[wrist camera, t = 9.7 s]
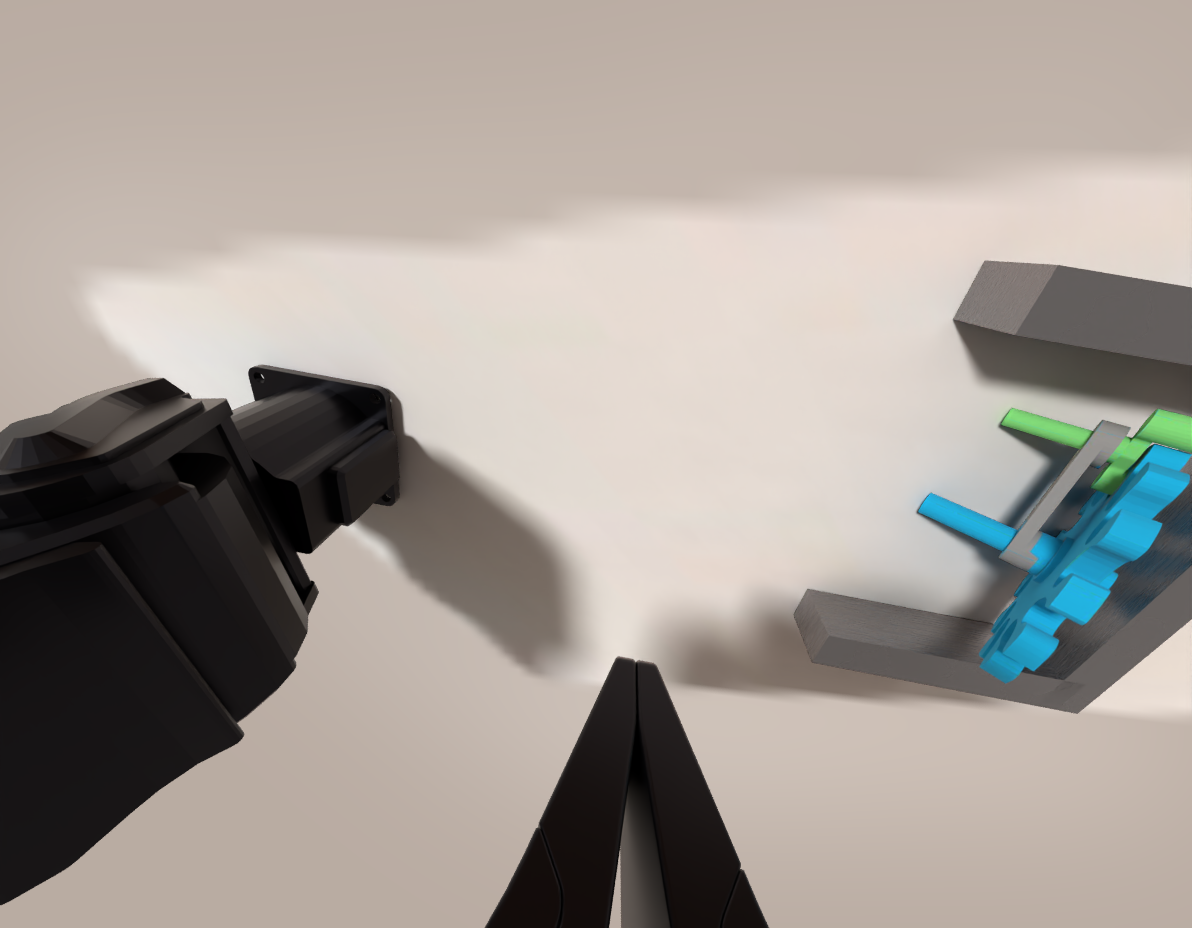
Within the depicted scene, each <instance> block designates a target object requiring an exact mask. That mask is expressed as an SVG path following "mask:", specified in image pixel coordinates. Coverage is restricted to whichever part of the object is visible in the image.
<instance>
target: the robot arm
mask: <svg viewBox="0 0 1192 928" xmlns="http://www.w3.org/2000/svg"><path fill="white" fill-rule="evenodd" d="M248 374H249V379H250V383H251V387H252V391H253V395H254V399H255V401H254V402H252V403H249V404H247V405H244V406H242V407H239V408H237V409H234V410H231V408H230V406H229V403H228V401H227V399H224V398H221V399H192V398H191V396H190V394H189V393H185V392H183V391H182V390H180V389H179V388H177V387H176V386H175V385H173V384H172V383H170V382H169V381H167V380H166V379H164V378H147V379H143V380H139V381H136V382H132V383H129V384H125V385H121V386H118V387H114V388H111V389H107V390H104V391H100V392H97V393H94V394H91V395H88V396H86V397H83V398H80V399H78V400H76V401H74V402H72V403H70V404H66V405H63V406H61V407H59V408H58V409H57V410H55V411H53V412H52V413H50V414H45V415H41V416H36V417H32V418H28V419H24V420H21V421H17V422H15V423H12V424H10V425H9V426H8V427H7V428H5V429H4V430H3V431H2V432H0V905H3V904H5V903H7V902H9V901H11V900H13V899H14V898H16V897H18V896H20V895H21V894H23V893H25V892H27V891H28V890H30V889H32V888H34V887H35V886H37V885H39V884H41V883H42V882H44V881H46V880H48V879H50V878H51V877H53V876H55V875H56V874H58V873H60V872H62V871H63V870H65V869H66V868H68V867H69V866H71V865H72V864H73V863H74V862H76V861H77V860H78V859H79V858H80V857H81V856H82V855H84V854H85V853H86V852H87V851H88V850H89V849H90V848H91V847H93V846H94V845H95V844H96V843H97V842H98V841H99V840H101V839H102V838H103V837H104V836H105V835H106V834H108V833H109V832H110V831H111V830H112V829H113V828H114V827H116V826H117V825H118V824H119V823H120V822H121V821H122V820H124V819H125V818H126V817H127V816H128V815H129V814H130V813H132V812H133V811H134V810H135V809H136V808H138V807H139V806H140V805H141V804H143V803H144V802H145V801H146V800H148V799H149V798H150V797H151V796H152V795H154V794H155V793H156V792H157V791H159V790H160V789H161V788H163V787H164V786H166V785H167V784H169V783H170V782H171V781H173V780H174V779H176V778H178V777H179V776H181V775H182V774H184V773H185V772H186V771H188V770H189V769H191V768H192V767H194V766H195V765H197V764H198V763H200V762H202V761H204V760H206V759H208V758H210V757H212V756H214V755H216V754H218V753H219V752H222V751H224V750H226V749H228V748H229V747H232V746H233V745H235V744H237V743H238V742H239V741H240V740H241V739H242V738H243V736H244V732H243V731H242V729H241V728H240V727H239V725H238V724H237V723H238V722H239V721H241V720H242V719H244V718H245V717H247V716H248V715H249V714H250V713H251V712H252V711H254V710H255V709H256V708H257V707H258V706H259V705H260V704H262V702H264V701H265V700H266V699H267V698H269V696H271V695H272V694H273V693H274V692H275V691H276V690H277V689H278V688H279V687H280V686H281V685H282V684H283V682H284V681H285V680H286V679H287V678H288V677H289V675H290V674H291V673H292V672H293V671H294V669H295V668H296V661H295V660H294V658H295V657H296V655H297V653H298V651H299V649H300V647H301V644H302V643H303V641H304V639H305V636H306V634H307V630H308V615H309V613H310V610H311V608H312V606H313V604H314V602H315V600H316V598H317V595H318V593H319V591H318V589H317V587H316V585H315V583H314V581H310V579H309V577H308V575H307V573H306V571H305V569H304V567H303V564H302V562H301V560H300V558H299V556H298V554H297V552H300V553H305V554H310V553H312V552H313V551H314V550H315V549H316V548H317V547H318V546H319V545H320V544H322V543H323V542H324V541H325V540H326V539H327V538H328V537H329V536H330V535H331V534H332V533H333V532H334V531H335V530H337V529H338V528H339V527H340V526H341V525H344V526H349V525H351V524H352V523H353V522H355V521H356V520H357V519H358V518H359V517H360V516H361V515H362V514H363V513H364V512H365V511H366V510H367V509H368V508H369V507H370V506H371V505H372V504H373V503H374V504H380V505H385V506H391V505H393V504H394V503H395V502H396V501H397V500H398V499H399V487H398V479H399V478H400V474H399V463H398V452H397V441H396V435H395V433H394V432H393V423H392V412H391V402H390V396H389V393H388V392H387V390H386V389H384V388H383V387H381V386H377V385H372V384H366V383H361V382H355V381H350V380H344V379H339V378H333V377H328V376H322V375H317V374H311V373H306V372H300V371H295V370H289V369H284V368H278V367H273V366H267V365H258V366H255V367H252V368H250V369H249V372H248ZM261 374H262V375H263V377H264V378H262V376H261ZM374 394H377V395H378V396H379V397H380V401H379V400H377V399H376V398H375V395H374ZM386 494H387V495H389V496H390V498H389V497H388V496H387V495H386ZM620 848H621V849H620ZM619 851H620V852H621V853H620V854H621V928H769V927H768V925H767V922H766V921H765V918H764V916H763V914H762V911H761V909H760V907H759V905H758V902H757V900H756V898H755V895H754V893H753V891H752V888H751V886H750V884H749V881H748V879H747V877H746V874H745V872H744V870H742V869H740V867H741V863H740V861H739V858H738V856H737V853H736V851H735V849H734V846H733V844H732V842H731V839H730V837H729V835H728V832H727V830H726V828H725V825H724V823H723V820H722V818H721V816H720V813H719V811H718V809H717V806H716V804H715V802H714V799H713V797H712V795H711V792H710V790H709V788H708V785H707V783H706V780H705V778H704V776H703V774H702V771H701V769H700V766H699V764H698V762H697V759H696V757H695V755H694V752H693V750H692V747H691V745H690V743H689V741H688V738H687V736H686V733H685V731H684V729H683V726H682V724H681V721H680V719H679V717H678V715H677V712H676V710H675V707H674V705H673V703H672V700H671V698H670V696H669V693H668V691H667V688H666V686H665V684H664V681H663V679H662V677H661V674H660V672H659V670H658V668H657V666H656V665H655V664H654V663H650V662H645V661H640V660H638V661H637V662H635V660H633V659H630V658H625V657H617V658H616V659H615V661H614V663H613V665H612V667H611V670H610V672H609V674H608V676H607V678H606V680H605V682H604V685H603V687H602V689H601V691H600V693H599V695H598V697H597V700H596V702H595V704H594V706H593V708H592V710H591V712H590V715H589V717H588V719H587V721H586V723H585V725H584V727H583V730H582V732H581V734H580V736H579V738H578V740H577V743H576V745H575V747H574V749H573V751H572V753H571V755H570V757H569V760H568V762H567V764H566V766H565V768H564V770H563V772H562V774H561V777H560V779H559V781H558V783H557V785H556V787H555V790H554V792H553V794H552V796H551V798H550V800H549V802H548V805H547V807H546V809H545V811H544V813H543V815H542V817H541V819H540V822H539V825H538V828H536V830H535V832H534V834H533V836H532V838H531V840H530V842H529V845H528V847H527V849H526V851H525V853H524V855H523V857H522V859H521V861H520V863H519V865H518V867H517V869H516V871H515V873H514V875H513V877H512V879H511V881H510V883H509V885H508V887H507V889H506V891H505V893H504V894H503V896H502V898H501V900H500V902H499V903H498V905H497V907H496V909H495V910H494V912H493V914H492V916H491V917H490V919H489V921H488V923H487V925H486V926H485V928H609V924H610V916H611V909H612V902H613V895H614V887H615V879H616V872H617V865H618V858H619Z"/></svg>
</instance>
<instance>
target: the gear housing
mask: <svg viewBox="0 0 1192 928" xmlns="http://www.w3.org/2000/svg"><path fill="white" fill-rule="evenodd" d="M954 320H958V321H962V322H965V323H969V324H973V325H977V326H981V327H985V328H989V329H993V330H996V331H1000V332H1004V333H1008V334H1012V335H1016V336H1022V337H1028V338H1034V339H1040V340H1045V341H1051V342H1057V343H1063V344H1069V345H1074V346H1080V347H1086V348H1092V349H1097V350H1103V351H1109V352H1115V353H1121V354H1126V355H1132V356H1138V357H1144V358H1150V359H1155V360H1161V361H1167V362H1173V363H1179V364H1184V365H1190V366H1192V288H1191V287H1185V286H1179V285H1173V284H1167V283H1162V282H1156V281H1150V280H1144V279H1138V278H1132V277H1126V276H1120V275H1114V274H1108V273H1102V272H1096V271H1090V270H1084V269H1078V268H1072V267H1066V266H1060V265H1048V264H1031V263H1014V262H998V261H984V263H983V265H982V267H981V269H980V271H979V272H978V274H977V276H976V278H975V280H974V282H973V284H972V285H971V287H970V289H969V291H968V293H967V295H966V296H965V298H964V300H963V302H962V304H961V306H960V308H959V309H958V311H957V313H956V315H955V317H954ZM1179 451H1183V450H1179ZM1183 452H1186V451H1183ZM1186 453H1190V452H1186ZM1190 454H1192V453H1190ZM1180 472H1183V473H1186V474H1189V475H1190V481H1189V484H1188V485H1187V486H1186V488H1185V489H1184V490H1183V491H1182V492H1181V493H1180V494H1179V495H1178V496H1177V497H1176V498H1175V499H1174V500H1173V501H1172V502H1171V503H1169V504H1168V505H1167V506H1166V507H1165V508H1163V509H1162V510H1161V511H1160V512H1159V513H1158V514H1157V515H1156V516H1155V517H1154V518H1153V519H1152V520H1154V521H1157V522H1160V523H1162V526H1161V529H1160V531H1159V533H1158V534H1157V536H1156V538H1155V540H1154V541H1153V543H1152V544H1151V546H1150V547H1149V549H1148V550H1147V551H1146V552H1145V553H1144V554H1143V555H1142V556H1140V557H1139V558H1138V559H1136V560H1134V561H1130V562H1127V563H1125V564H1123V565H1122V566H1120V567H1119V568H1117V569H1116V570H1115V571H1113V572H1115V573H1118V577H1117V579H1116V581H1115V582H1114V583H1113V585H1112V586H1111V587H1110V588H1109V590H1110V594H1109V596H1108V597H1107V599H1106V600H1105V601H1104V603H1103V604H1102V605H1101V607H1100V608H1099V609H1098V610H1097V612H1096V613H1095V614H1094V615H1093V616H1092V617H1091V619H1090V620H1089V621H1088V622H1087V623H1086V624H1084V625H1079V624H1077V623H1075V622H1073V621H1072V620H1070V619H1068V618H1066V619H1065V620H1064V621H1063V622H1062V623H1061V624H1060V625H1059V627H1058V628H1057V629H1056V631H1055V632H1054V634H1053V637H1055V638H1057V639H1058V640H1059V643H1058V646H1057V648H1056V649H1055V651H1054V652H1053V653H1052V654H1051V655H1050V656H1049V657H1048V658H1047V659H1046V660H1045V661H1044V662H1043V663H1042V664H1041V665H1040V666H1039V667H1038V668H1037V669H1036V670H1035V671H1032V670H1030V669H1029V668H1027V667H1024V668H1023V670H1022V671H1021V673H1020V674H1019V675H1018V676H1017V677H1016V678H1015V679H1014V680H1012V681H1010V682H1008V683H1006V684H1005V683H1004V682H1002V681H1001V680H999V679H997V678H996V677H994V676H993V675H991V674H989V673H988V672H986V671H985V670H983V669H981V668H980V665H981V663H982V661H983V660H984V659H983V658H981V657H980V656H979V652H980V651H981V649H982V648H983V646H984V645H985V644H986V643H987V641H988V640H989V639H990V638H991V637H992V636H993V634H994V633H992V632H991V629H992V627H993V625H994V624H989V623H984V622H979V621H974V620H968V619H963V618H958V617H952V616H947V615H942V614H937V613H931V612H926V611H921V610H915V609H910V608H905V607H899V606H894V605H889V604H884V603H878V602H873V601H868V600H862V599H857V598H852V597H847V596H841V595H836V594H831V593H825V592H820V591H815V590H810V589H807V591H806V593H805V595H804V596H803V598H802V600H801V602H800V604H799V606H798V608H797V609H796V611H795V613H794V618H795V620H796V623H797V625H798V628H799V630H800V633H801V636H802V638H803V641H804V643H805V646H806V648H807V651H808V653H809V656H810V659H811V661H812V663H817V664H822V665H827V666H833V667H838V668H843V669H848V670H853V671H859V672H864V673H869V674H874V675H879V676H884V677H890V678H895V679H900V680H905V681H910V682H915V683H921V684H926V685H931V686H936V687H941V688H947V689H952V690H957V691H962V692H967V693H972V694H978V695H983V696H988V697H993V698H998V699H1003V700H1009V701H1014V702H1019V703H1024V704H1029V705H1035V706H1040V707H1045V708H1050V709H1055V710H1060V711H1066V712H1071V713H1076V714H1078V713H1079V712H1080V711H1081V710H1083V709H1084V708H1085V707H1086V706H1087V705H1089V704H1090V703H1091V702H1092V701H1093V700H1095V699H1096V698H1097V697H1098V696H1100V695H1101V694H1102V693H1103V692H1104V691H1106V690H1107V689H1108V688H1109V687H1110V686H1112V685H1113V684H1114V683H1115V682H1116V681H1118V680H1119V679H1120V678H1121V677H1122V676H1124V675H1125V674H1126V673H1127V672H1128V671H1130V670H1131V669H1132V668H1133V667H1135V666H1136V665H1137V664H1138V663H1139V662H1141V661H1142V660H1143V659H1144V658H1145V657H1147V656H1148V655H1149V654H1150V653H1151V652H1153V651H1154V650H1155V649H1156V648H1157V647H1159V646H1160V645H1161V644H1162V643H1164V642H1165V641H1166V640H1167V639H1168V638H1170V637H1171V636H1172V635H1173V634H1174V633H1176V632H1177V631H1178V630H1179V629H1180V628H1182V627H1183V626H1184V625H1185V624H1186V623H1188V622H1189V621H1190V620H1191V619H1192V455H1191V457H1190V459H1189V460H1188V461H1187V463H1186V464H1185V465H1184V466H1183V468H1182V469H1181V470H1180Z"/></svg>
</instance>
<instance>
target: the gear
mask: <svg viewBox="0 0 1192 928" xmlns="http://www.w3.org/2000/svg"><path fill="white" fill-rule="evenodd" d="M1001 425H1003V426H1007V427H1010V428H1013V429H1016V430H1019V431H1023V432H1026V433H1029V434H1032V435H1035V436H1039V437H1042V438H1045V439H1048V440H1052V441H1055V442H1058V443H1061V444H1064V445H1068V446H1071V447H1074V448H1077V449H1079V450H1078V451H1077V452H1076V454H1075V455H1074V456H1073V458H1072V459H1071V460H1070V462H1069V463H1068V464H1067V466H1066V467H1065V468H1064V470H1063V471H1062V472H1061V474H1060V475H1059V476H1058V478H1057V479H1056V480H1055V481H1054V483H1053V484H1052V485H1051V487H1050V488H1049V489H1048V491H1047V492H1046V493H1045V495H1044V496H1043V497H1042V499H1041V500H1040V501H1039V503H1038V504H1037V505H1036V507H1035V508H1034V509H1033V511H1032V512H1031V513H1030V514H1029V516H1028V517H1027V518H1026V520H1025V521H1024V522H1023V524H1022V525H1021V526H1020V528H1019V529H1018V530H1016V529H1014V528H1011V527H1009V526H1007V525H1004V524H1002V523H1000V522H997V521H995V520H993V519H991V518H988V517H986V516H984V515H981V514H979V513H977V512H974V511H972V510H970V509H967V508H965V507H963V506H961V505H958V504H956V503H954V502H951V501H949V500H947V499H944V498H942V497H940V496H937V495H935V494H933V493H930V494H929V496H928V497H927V498H926V499H925V501H924V502H923V504H922V505H921V507H920V509H919V511H918V512H919V513H921V514H923V515H925V516H928V517H930V518H932V519H934V520H936V521H938V522H940V523H942V524H945V525H947V526H949V527H951V528H953V529H955V530H957V531H960V532H962V533H964V534H966V535H968V536H970V537H972V538H975V539H977V540H979V541H981V542H983V543H985V544H987V545H990V546H992V547H994V548H996V549H998V550H1000V551H1002V552H1001V554H1000V555H999V557H998V558H999V559H1001V560H1003V561H1006V562H1008V563H1010V564H1012V565H1014V566H1016V567H1018V568H1020V569H1022V570H1024V571H1027V572H1029V574H1028V575H1027V576H1026V577H1025V579H1024V580H1023V581H1022V583H1021V584H1020V586H1019V587H1018V589H1017V590H1016V592H1015V594H1014V596H1016V597H1017V598H1016V599H1015V600H1014V602H1013V603H1012V604H1011V605H1010V606H1009V607H1008V608H1007V609H1006V610H1005V611H1004V612H1003V613H1002V614H1001V615H1000V616H999V617H998V619H997V620H996V622H995V623H994V625H993V627H992V629H991V632H992V633H994V634H993V636H992V637H991V638H990V639H989V640H988V641H987V643H986V644H985V645H984V646H983V648H982V649H981V651H980V652H979V656H980V657H981V658H983V659H984V660H983V661H982V663H981V665H980V668H981V669H983V670H985V671H986V672H988V673H989V674H991V675H993V676H994V677H996V678H997V679H999V680H1001V681H1002V682H1004V683H1005V684H1006V683H1008V682H1010V681H1012V680H1014V679H1015V678H1016V677H1017V676H1018V675H1019V674H1020V673H1021V671H1022V670H1023V668H1024V667H1027V668H1029V669H1030V670H1032V671H1035V670H1036V669H1037V668H1038V667H1039V666H1040V665H1041V664H1042V663H1043V662H1044V661H1045V660H1046V659H1047V658H1048V657H1049V656H1050V655H1051V654H1052V653H1053V652H1054V651H1055V649H1056V648H1057V646H1058V643H1059V640H1058V639H1057V638H1055V637H1053V634H1054V632H1055V631H1056V629H1057V628H1058V627H1059V625H1060V624H1061V623H1062V622H1063V621H1064V620H1065V619H1066V618H1068V619H1070V620H1072V621H1073V622H1075V623H1077V624H1079V625H1084V624H1086V623H1087V622H1088V621H1089V620H1090V619H1091V617H1092V616H1093V615H1094V614H1095V613H1096V612H1097V610H1098V609H1099V608H1100V607H1101V605H1102V604H1103V603H1104V601H1105V600H1106V599H1107V597H1108V596H1109V594H1110V590H1109V588H1110V587H1111V586H1112V585H1113V583H1114V582H1115V581H1116V579H1117V577H1118V573H1115V572H1113V571H1115V570H1116V569H1117V568H1119V567H1120V566H1122V565H1123V564H1125V563H1127V562H1130V561H1134V560H1136V559H1138V558H1139V557H1140V556H1142V555H1143V554H1144V553H1145V552H1146V551H1147V550H1148V549H1149V547H1150V546H1151V544H1152V543H1153V541H1154V540H1155V538H1156V536H1157V534H1158V533H1159V531H1160V529H1161V526H1162V523H1160V522H1157V521H1154V520H1152V519H1153V518H1154V517H1155V516H1156V515H1157V514H1158V513H1159V512H1160V511H1161V510H1162V509H1163V508H1165V507H1166V506H1167V505H1168V504H1169V503H1171V502H1172V501H1173V500H1174V499H1175V498H1176V497H1177V496H1178V495H1179V494H1180V493H1181V492H1182V491H1183V490H1184V489H1185V488H1186V486H1187V485H1188V484H1189V481H1190V475H1189V474H1186V473H1183V472H1180V470H1181V469H1182V468H1183V466H1184V465H1185V464H1186V463H1187V461H1188V460H1189V459H1190V457H1191V455H1192V454H1190V453H1192V417H1190V416H1186V415H1182V414H1177V413H1173V412H1169V411H1165V410H1161V409H1156V410H1155V411H1154V412H1153V413H1152V414H1151V415H1150V417H1149V418H1148V419H1147V420H1146V421H1145V422H1144V424H1143V425H1142V426H1141V428H1140V429H1139V430H1138V432H1137V433H1136V434H1135V435H1134V436H1133V437H1132V438H1130V437H1127V436H1126V435H1127V434H1128V432H1129V430H1130V427H1127V426H1123V425H1119V424H1116V423H1112V422H1108V421H1105V420H1102V421H1101V422H1100V423H1099V424H1098V425H1097V427H1096V428H1095V429H1094V430H1093V431H1091V430H1087V429H1084V428H1081V427H1077V426H1074V425H1070V424H1067V423H1063V422H1060V421H1056V420H1053V419H1049V418H1046V417H1042V416H1039V415H1035V414H1032V413H1028V412H1025V411H1021V410H1018V409H1014V408H1012V409H1011V410H1010V412H1009V413H1008V414H1007V416H1006V417H1005V419H1004V420H1003V422H1002V424H1001ZM1152 442H1154V443H1158V444H1161V445H1165V446H1168V447H1172V448H1175V449H1179V450H1183V451H1186V452H1190V453H1186V452H1183V451H1179V450H1175V449H1172V448H1168V447H1165V446H1161V445H1158V444H1153V445H1151V446H1149V445H1150V444H1151V443H1152ZM1148 446H1149V447H1148ZM1105 462H1108V463H1110V464H1108V465H1107V466H1106V467H1105V468H1104V469H1103V470H1102V472H1101V473H1100V474H1099V475H1098V477H1097V478H1096V479H1095V481H1094V482H1093V483H1092V485H1091V487H1090V488H1092V489H1095V490H1096V492H1095V493H1094V494H1093V495H1092V496H1091V497H1090V499H1089V500H1088V501H1087V502H1086V503H1085V505H1084V506H1083V507H1082V508H1081V510H1080V511H1079V515H1082V517H1081V518H1080V519H1079V521H1078V522H1077V523H1076V524H1075V525H1074V527H1073V528H1072V529H1070V530H1069V531H1068V532H1067V531H1065V530H1062V531H1061V532H1060V533H1059V535H1058V536H1057V537H1056V538H1055V537H1053V536H1050V535H1048V534H1046V533H1043V532H1041V531H1039V529H1040V528H1041V527H1042V525H1043V524H1044V523H1045V521H1046V520H1047V519H1048V518H1049V516H1050V515H1051V514H1052V512H1053V511H1054V510H1055V509H1056V507H1057V506H1058V505H1059V504H1060V502H1061V501H1062V500H1063V498H1064V497H1065V496H1066V495H1067V493H1068V492H1069V491H1070V489H1071V488H1072V487H1073V486H1074V484H1075V483H1076V482H1077V480H1078V479H1079V478H1080V477H1081V475H1082V474H1083V473H1084V471H1085V470H1086V469H1087V468H1088V466H1091V467H1094V468H1097V469H1098V468H1100V467H1101V466H1102V465H1103V464H1104V463H1105Z"/></svg>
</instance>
